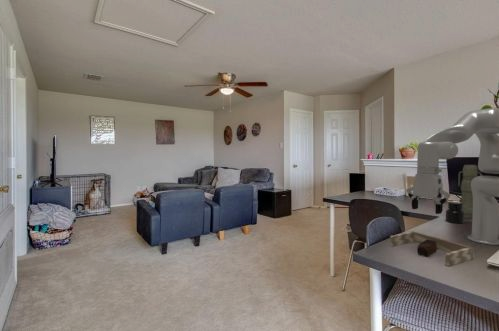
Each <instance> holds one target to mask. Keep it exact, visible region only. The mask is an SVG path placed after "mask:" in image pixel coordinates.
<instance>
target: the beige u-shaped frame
mask: <svg viewBox="0 0 499 331" xmlns="http://www.w3.org/2000/svg"><path fill="white" fill-rule="evenodd" d="M425 240H432V241H436V243H437V248H436V250H440V251H444V252H445V256H444V265H445V266H446V267H452V266H454V265H458V264H461V263H463V262H467V261H470V260H473V259H474V247H472V246H468V245H465V244H461V243H458V242H453V241H449V240H447V239H443V238H440V237H436V236H432V235H428V234H424V233H421V232H418V231H407V232H404V233H403V232H402V233H398V234H394V235H393V234H392V235H390V236H389V246H390V247H394V246H400V244H401V245H404V244H409V243H413V242H415V243H417V244H420V243H422V242H423V241H425Z"/></svg>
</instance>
